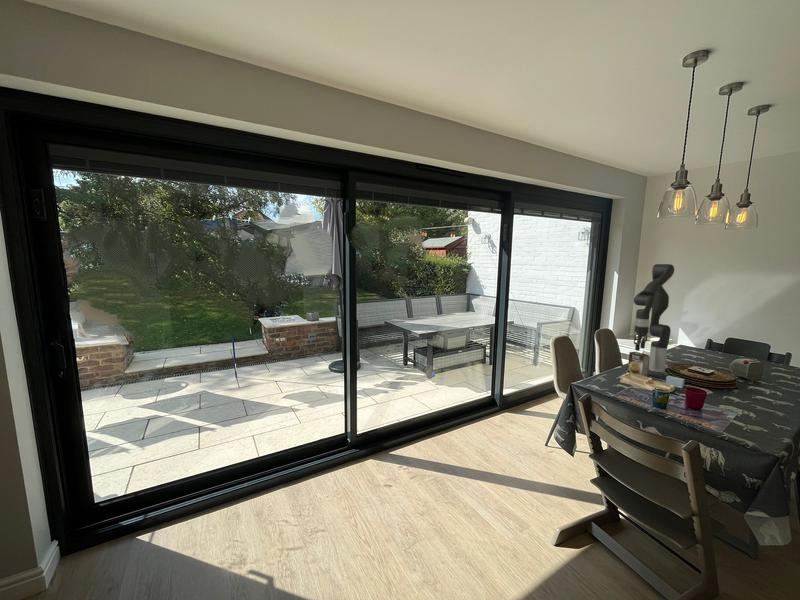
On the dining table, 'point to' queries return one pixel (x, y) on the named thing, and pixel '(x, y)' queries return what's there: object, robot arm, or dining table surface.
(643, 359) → the coffee box
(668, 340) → the robot arm
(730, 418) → the dining table surface
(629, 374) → the jig
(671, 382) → the wing block
